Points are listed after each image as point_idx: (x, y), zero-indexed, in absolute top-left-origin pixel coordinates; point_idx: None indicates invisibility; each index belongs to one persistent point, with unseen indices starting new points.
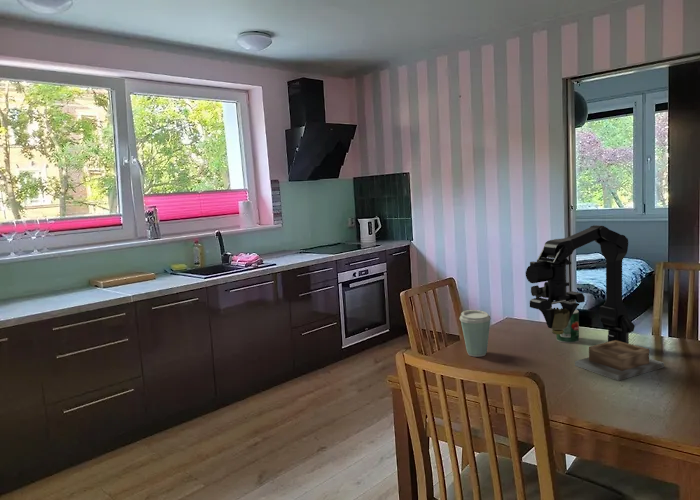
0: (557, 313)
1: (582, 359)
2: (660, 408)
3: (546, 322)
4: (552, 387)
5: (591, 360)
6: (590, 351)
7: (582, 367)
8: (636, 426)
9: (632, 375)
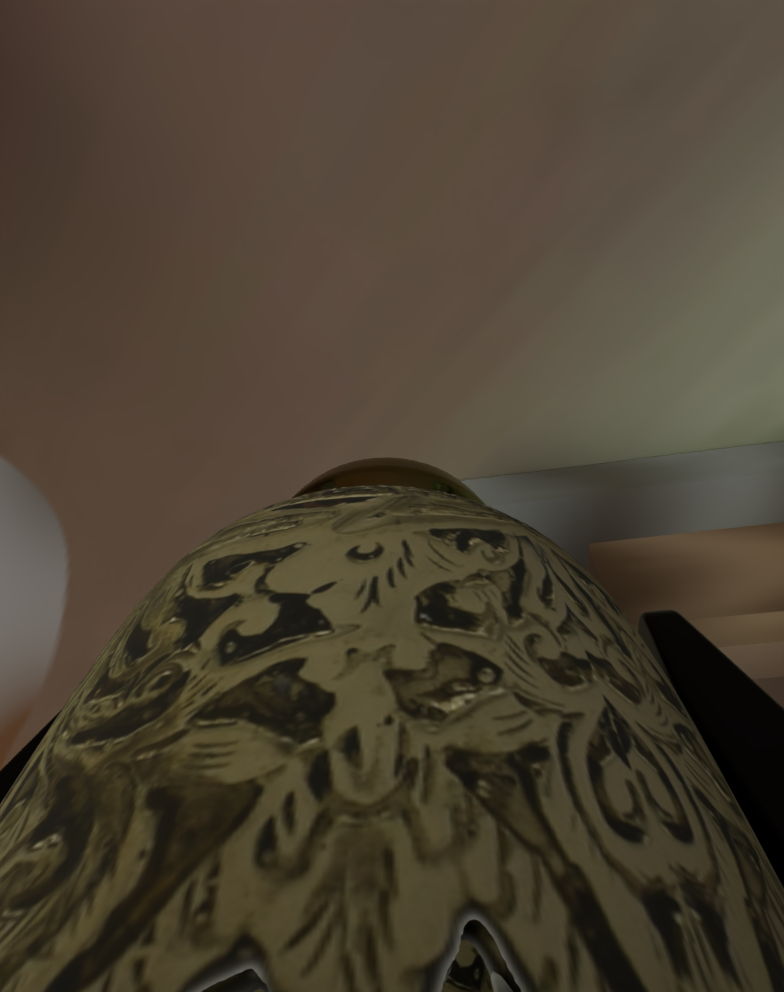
0: (661, 808)
1: (554, 507)
2: None
3: (2, 780)
4: (52, 702)
5: (588, 569)
6: None
7: None
8: None
9: None
